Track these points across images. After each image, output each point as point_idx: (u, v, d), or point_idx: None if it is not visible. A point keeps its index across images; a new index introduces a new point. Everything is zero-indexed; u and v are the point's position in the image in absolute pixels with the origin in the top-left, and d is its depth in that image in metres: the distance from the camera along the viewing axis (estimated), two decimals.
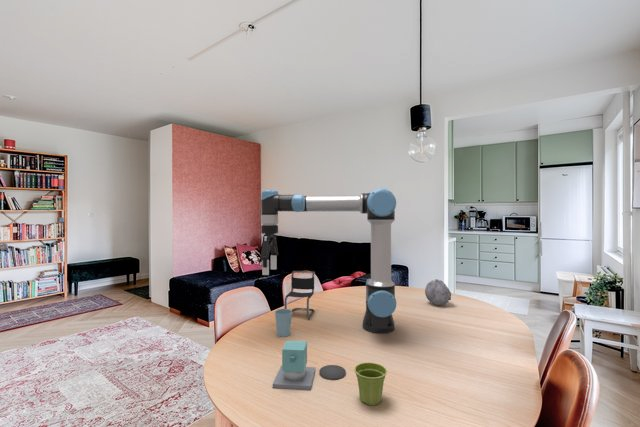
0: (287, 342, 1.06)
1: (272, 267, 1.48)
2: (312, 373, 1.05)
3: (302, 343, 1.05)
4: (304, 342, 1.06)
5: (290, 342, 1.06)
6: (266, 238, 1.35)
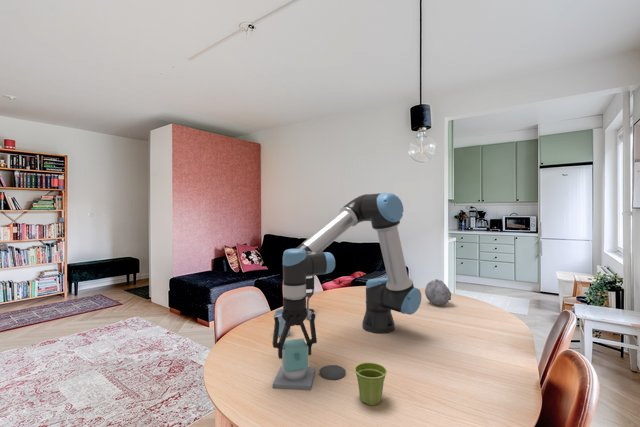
0: None
1: None
2: (312, 373, 1.05)
3: (300, 340, 1.06)
4: (301, 339, 1.07)
5: (288, 341, 1.05)
6: (274, 319, 1.02)
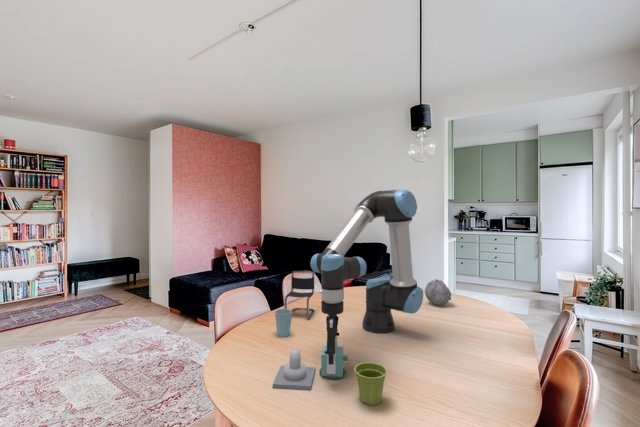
0: (324, 354, 1.05)
1: None
2: (312, 373, 1.05)
3: None
4: (325, 346, 1.10)
5: None
6: (332, 324, 1.01)
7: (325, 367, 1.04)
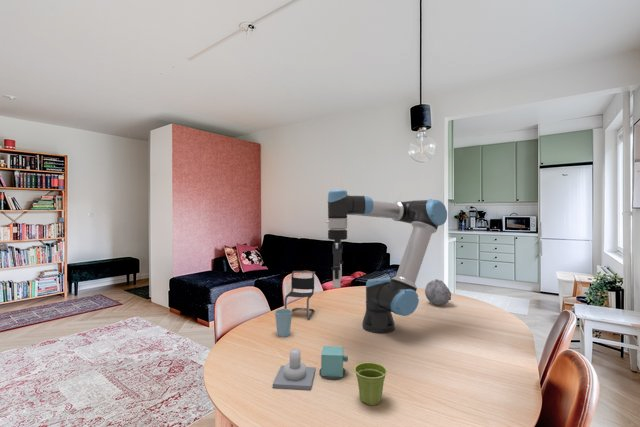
0: (324, 354, 1.05)
1: None
2: (312, 373, 1.05)
3: (328, 347, 1.10)
4: (325, 346, 1.10)
5: (325, 352, 1.06)
6: (337, 245, 1.17)
7: (325, 367, 1.04)
